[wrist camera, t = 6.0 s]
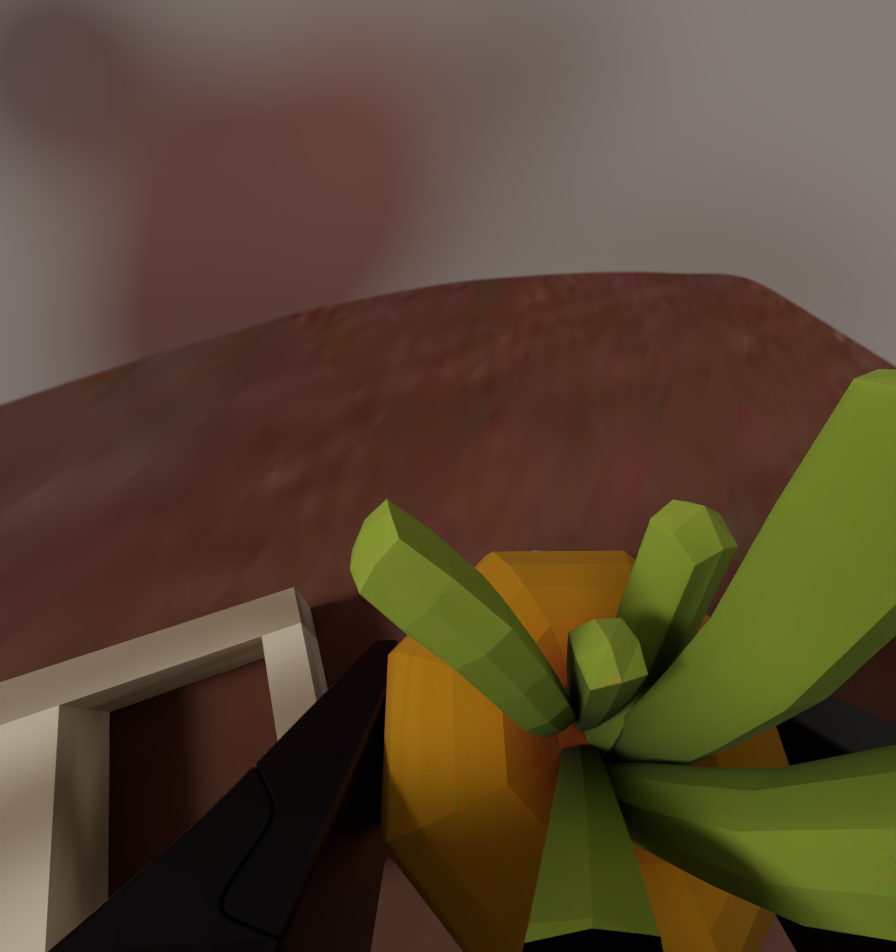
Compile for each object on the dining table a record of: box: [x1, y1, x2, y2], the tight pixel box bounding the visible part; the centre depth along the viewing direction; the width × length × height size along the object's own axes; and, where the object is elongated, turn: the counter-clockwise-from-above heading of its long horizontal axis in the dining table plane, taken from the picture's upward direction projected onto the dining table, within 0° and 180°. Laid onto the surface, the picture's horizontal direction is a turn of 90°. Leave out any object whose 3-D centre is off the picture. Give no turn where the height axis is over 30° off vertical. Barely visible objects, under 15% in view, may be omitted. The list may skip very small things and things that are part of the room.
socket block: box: [0, 587, 328, 952], centre depth 16 cm, size 10×14×3 cm
